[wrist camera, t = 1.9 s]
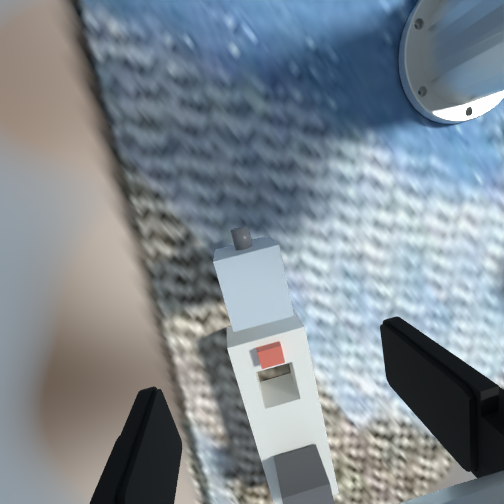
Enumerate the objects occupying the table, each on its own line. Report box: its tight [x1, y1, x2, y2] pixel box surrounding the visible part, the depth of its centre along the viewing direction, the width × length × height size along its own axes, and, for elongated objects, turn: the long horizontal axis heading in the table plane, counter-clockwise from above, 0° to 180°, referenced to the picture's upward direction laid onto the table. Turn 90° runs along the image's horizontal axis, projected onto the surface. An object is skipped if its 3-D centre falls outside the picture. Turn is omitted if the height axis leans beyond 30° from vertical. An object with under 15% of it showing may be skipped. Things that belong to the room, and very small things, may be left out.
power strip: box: [227, 309, 339, 504], centre depth 30 cm, size 24×8×5 cm, turn 13°
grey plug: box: [213, 226, 294, 332], centre depth 23 cm, size 8×5×8 cm, turn 13°
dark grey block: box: [274, 444, 334, 504], centre depth 30 cm, size 8×5×8 cm, turn 13°
